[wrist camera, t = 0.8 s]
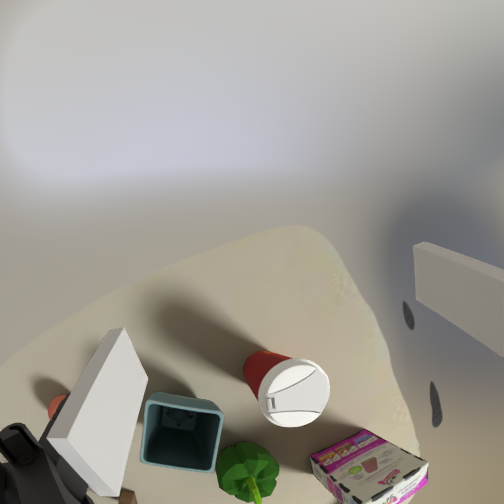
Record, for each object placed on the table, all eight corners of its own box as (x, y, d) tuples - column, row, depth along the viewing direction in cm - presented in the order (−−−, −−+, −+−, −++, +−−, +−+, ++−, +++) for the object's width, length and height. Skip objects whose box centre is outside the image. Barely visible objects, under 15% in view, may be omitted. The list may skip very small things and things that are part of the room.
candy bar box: (313, 476, 39) (362, 527, 24) (307, 455, 40) (359, 505, 24) (369, 448, 42) (429, 484, 26) (366, 427, 43) (430, 460, 27)
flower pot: (206, 444, 37) (213, 474, 28) (145, 434, 35) (139, 463, 27) (215, 390, 39) (225, 412, 30) (152, 379, 37) (145, 398, 29)
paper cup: (239, 399, 39) (266, 439, 26) (232, 348, 40) (256, 368, 27) (292, 388, 41) (337, 419, 28) (286, 339, 42) (331, 352, 29)
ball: (92, 427, 34) (82, 441, 28) (59, 422, 32) (46, 435, 27) (87, 392, 35) (75, 403, 29) (53, 388, 33) (38, 398, 28)
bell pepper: (215, 431, 38) (226, 463, 28) (270, 435, 39) (293, 464, 30) (208, 476, 36) (216, 513, 26) (260, 478, 38) (279, 513, 28)
